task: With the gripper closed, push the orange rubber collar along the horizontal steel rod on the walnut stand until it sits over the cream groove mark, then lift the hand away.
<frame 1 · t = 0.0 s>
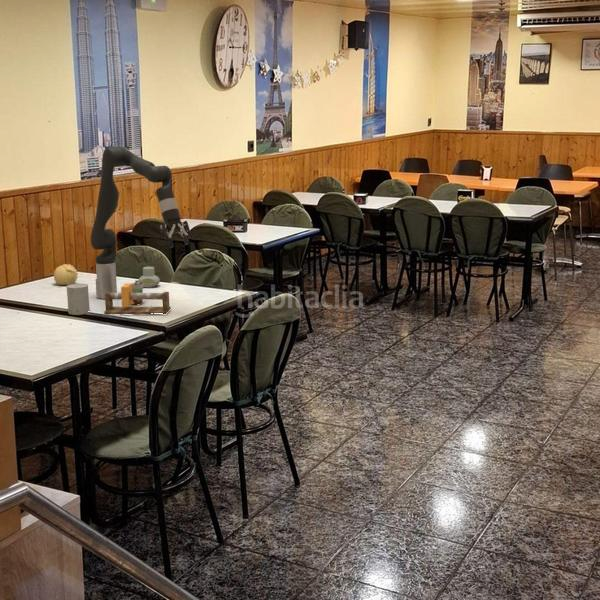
hand: (179, 245, 375), 31 cm above the table, tool tilted 20°, fingers open, 8 cm apart
air freshener: (149, 287, 443), on the table
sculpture: (66, 284, 450), on the table
gray cylinder: (79, 312, 391), on the table
food container: (138, 304, 406), on the table
rod stand: (137, 312, 389), on the table
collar: (127, 295, 388), point 8 cm above the table, slide at 0.0 cm
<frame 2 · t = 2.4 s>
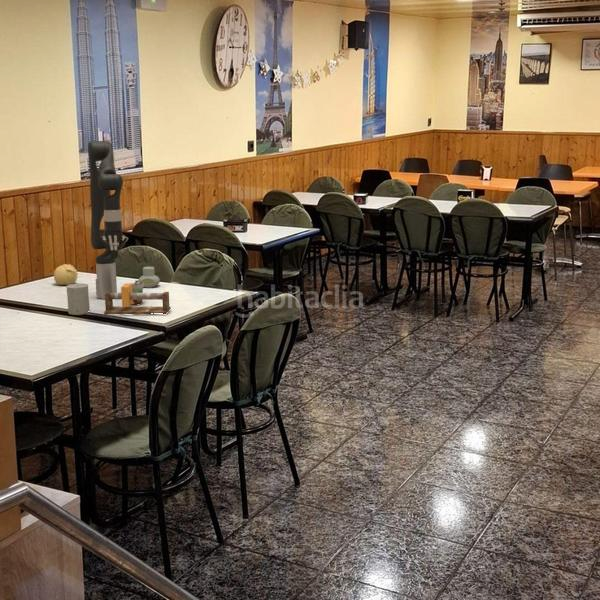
hand: (115, 258, 384), 25 cm above the table, tool pointing down, fingers closed
nothing on the table moved.
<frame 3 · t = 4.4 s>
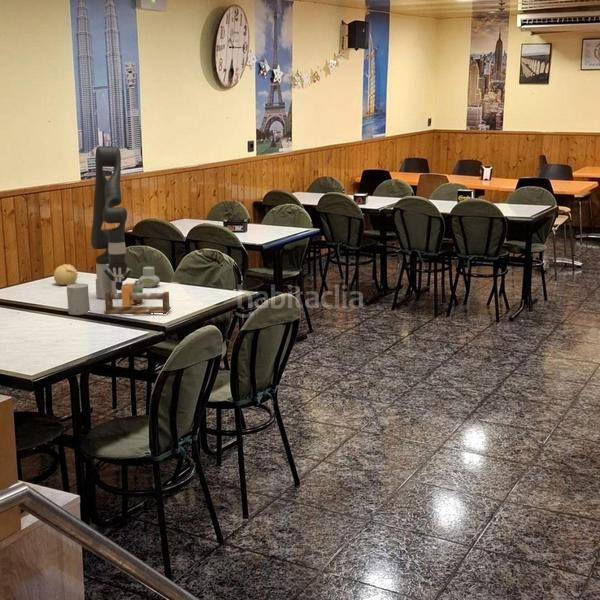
hand: (119, 290, 387), 10 cm above the table, tool pointing down, fingers closed
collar: (127, 295, 388), point 8 cm above the table, slide at 0.1 cm, touching gripper
everything else where it was.
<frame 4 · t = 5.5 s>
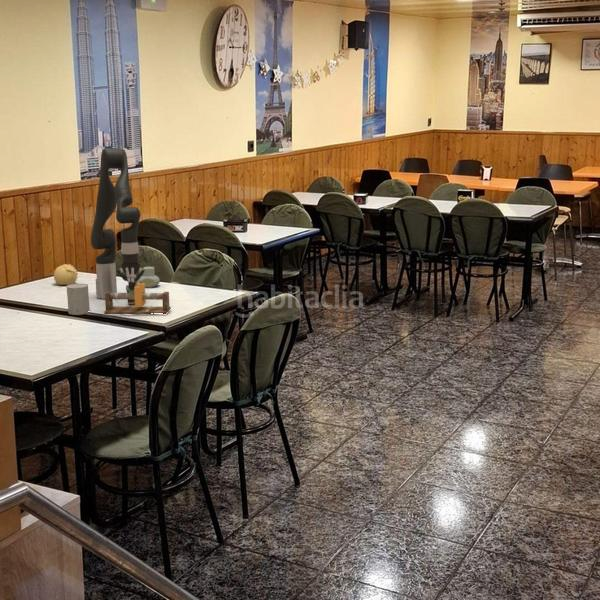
hand: (132, 290, 387), 10 cm above the table, tool pointing down, fingers closed
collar: (140, 295, 387), point 8 cm above the table, slide at 5.9 cm, touching gripper
everything else where it was.
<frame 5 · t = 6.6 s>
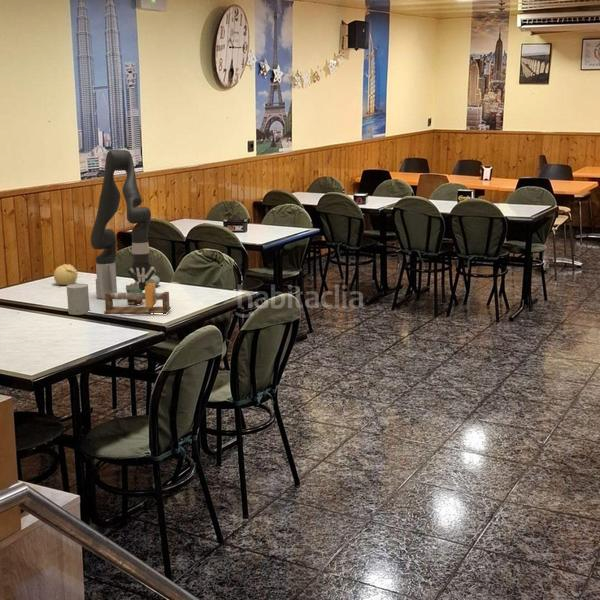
hand: (142, 290, 387), 10 cm above the table, tool pointing down, fingers closed
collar: (150, 295, 387), point 8 cm above the table, slide at 10.6 cm, touching gripper
everything else where it was.
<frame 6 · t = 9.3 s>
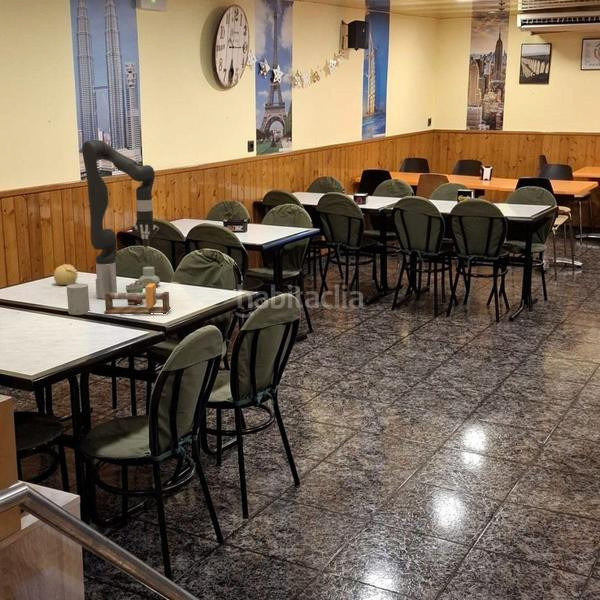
hand: (145, 246, 398), 27 cm above the table, tool pointing down, fingers closed
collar: (151, 295, 387), point 8 cm above the table, slide at 10.9 cm
everything else where it was.
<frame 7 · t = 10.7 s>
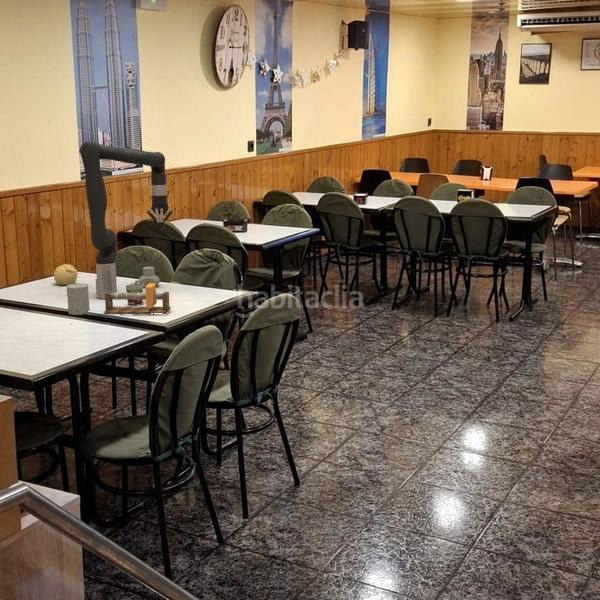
hand: (160, 229, 419), 32 cm above the table, tool pointing down, fingers closed
nothing on the table moved.
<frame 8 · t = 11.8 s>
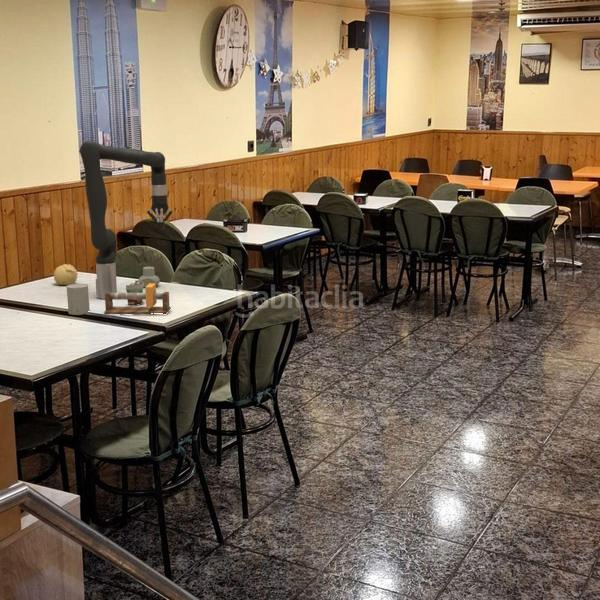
hand: (160, 229, 419), 32 cm above the table, tool pointing down, fingers closed
nothing on the table moved.
at the end: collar slide at 10.9 cm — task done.
